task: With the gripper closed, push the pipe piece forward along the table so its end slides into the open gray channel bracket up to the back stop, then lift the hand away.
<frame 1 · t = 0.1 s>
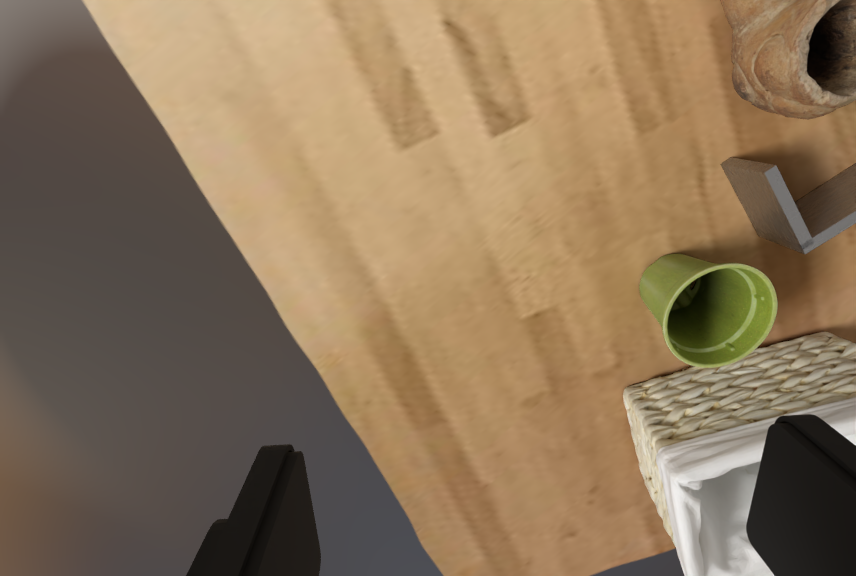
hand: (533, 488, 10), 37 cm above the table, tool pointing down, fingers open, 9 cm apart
gray channel bracket: (812, 156, 44), on the table
pipe: (746, 17, 41), on the table
storage basket: (723, 406, 54), on the table
plant pot: (669, 281, 49), on the table
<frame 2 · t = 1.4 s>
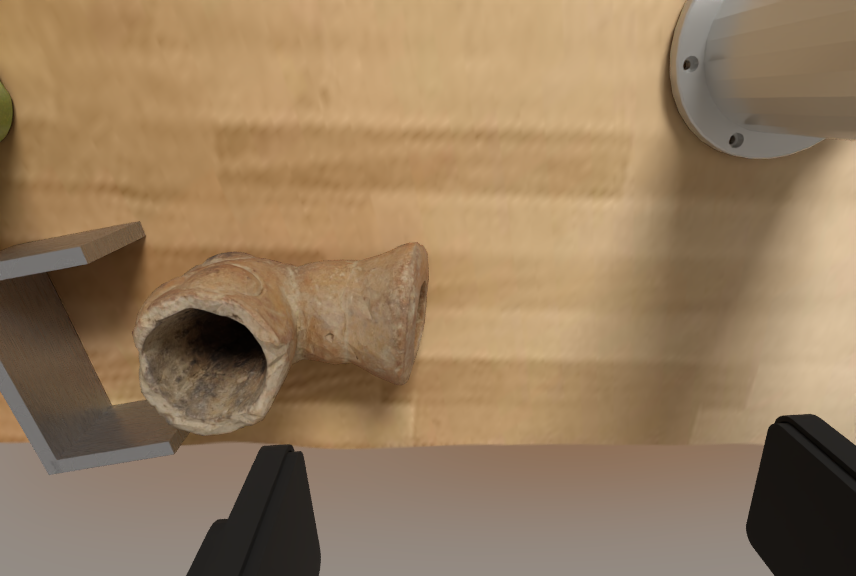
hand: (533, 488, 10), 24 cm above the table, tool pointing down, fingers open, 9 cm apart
gray channel bracket: (117, 328, 35), on the table
pipe: (314, 292, 34), on the table
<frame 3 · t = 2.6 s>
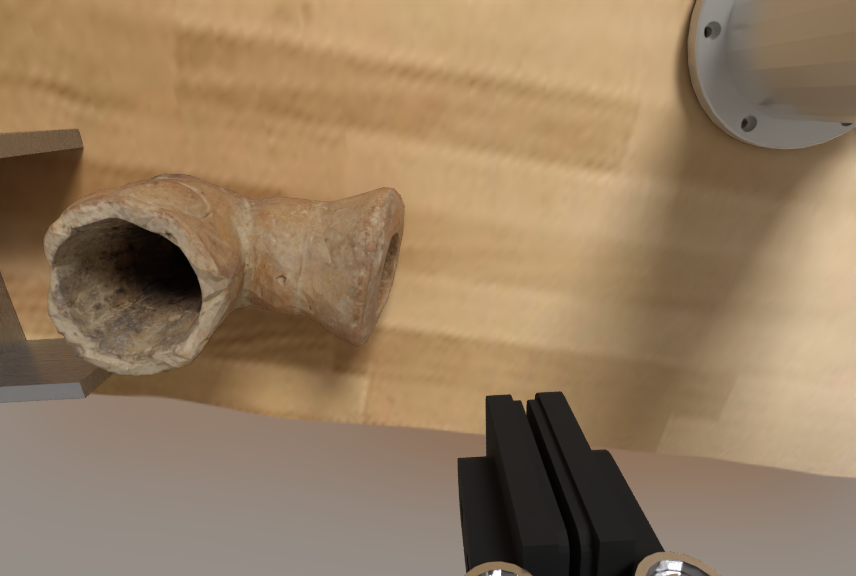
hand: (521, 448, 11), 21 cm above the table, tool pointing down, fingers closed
gray channel bracket: (40, 251, 30), on the table
pipe: (273, 238, 31), on the table
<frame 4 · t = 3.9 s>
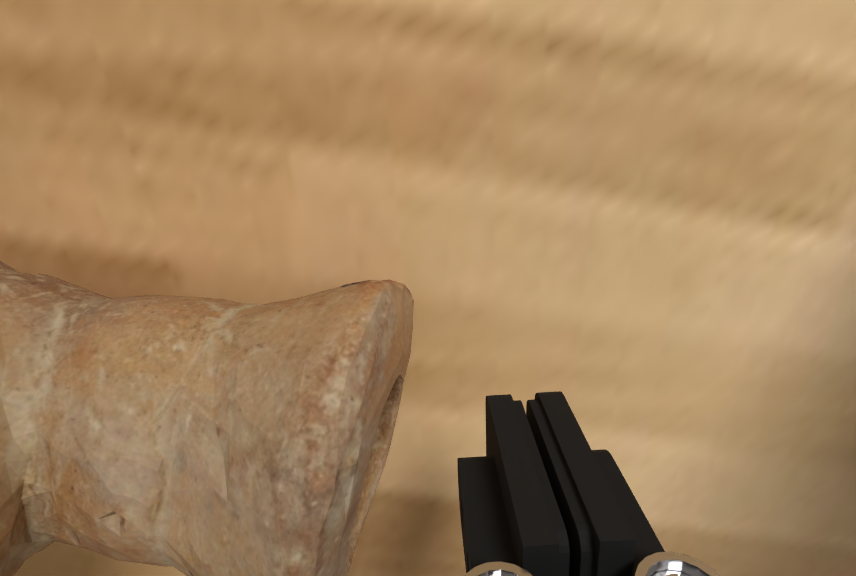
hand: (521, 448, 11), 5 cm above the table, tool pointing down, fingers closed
pipe: (170, 345, 16), on the table
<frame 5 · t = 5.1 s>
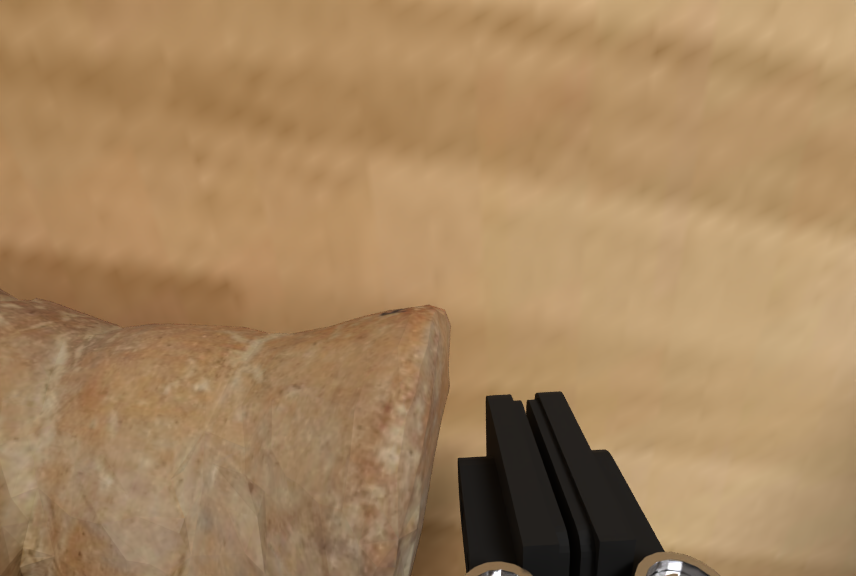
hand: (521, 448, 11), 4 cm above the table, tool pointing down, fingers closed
pipe: (179, 372, 15), on the table, touching gripper
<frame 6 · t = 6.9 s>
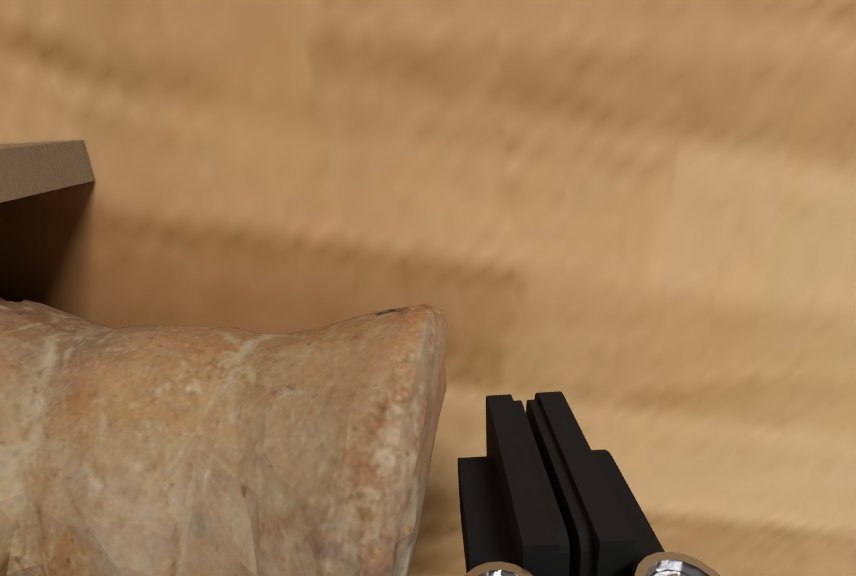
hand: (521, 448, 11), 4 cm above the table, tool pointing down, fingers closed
gray channel bracket: (3, 390, 15), on the table
pipe: (172, 374, 15), on the table, touching gray channel bracket, gripper
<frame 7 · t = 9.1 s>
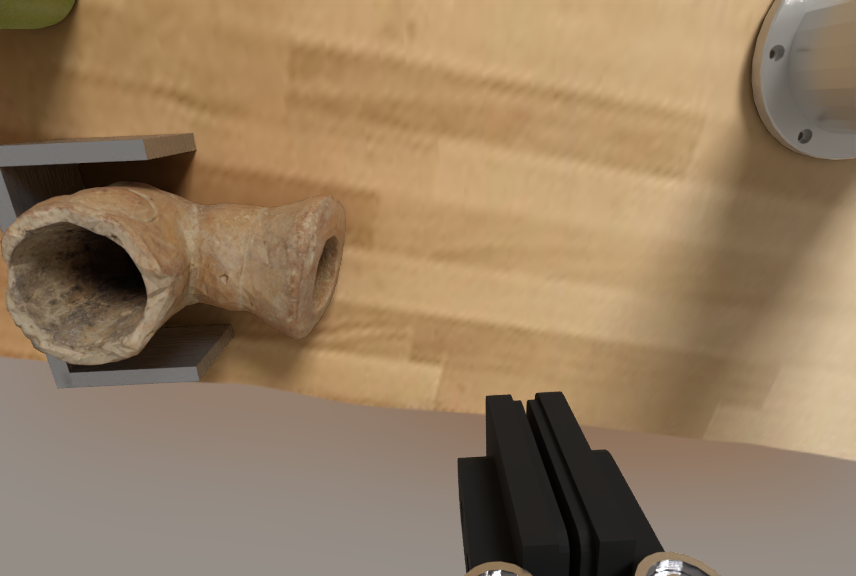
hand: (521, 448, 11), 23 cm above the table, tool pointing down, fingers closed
gray channel bracket: (147, 246, 33), on the table
pipe: (227, 240, 33), on the table
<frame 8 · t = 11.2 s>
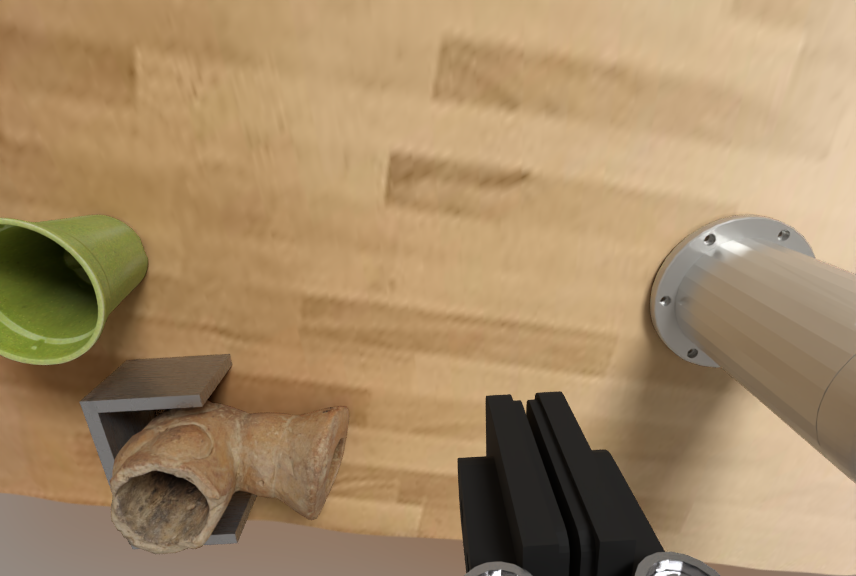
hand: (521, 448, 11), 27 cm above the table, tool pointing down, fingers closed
gray channel bracket: (194, 428, 43), on the table
pipe: (258, 422, 43), on the table
plant pot: (109, 253, 37), on the table
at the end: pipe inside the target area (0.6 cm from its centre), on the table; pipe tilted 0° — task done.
